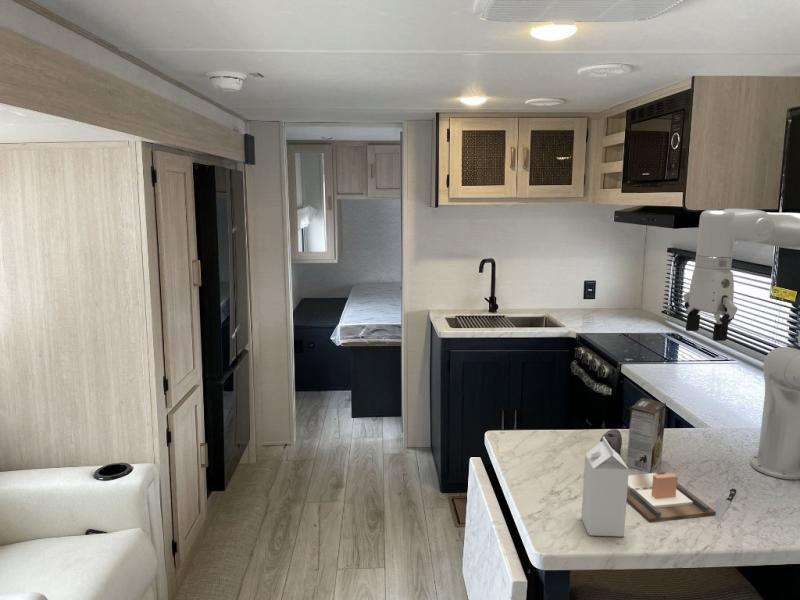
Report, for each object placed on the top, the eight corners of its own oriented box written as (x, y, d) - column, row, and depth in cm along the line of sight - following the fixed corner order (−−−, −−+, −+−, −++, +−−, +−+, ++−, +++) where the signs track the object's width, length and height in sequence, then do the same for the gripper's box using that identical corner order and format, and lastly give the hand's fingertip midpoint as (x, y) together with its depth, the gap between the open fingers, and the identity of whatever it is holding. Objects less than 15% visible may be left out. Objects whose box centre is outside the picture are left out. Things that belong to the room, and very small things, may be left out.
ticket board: (663, 475, 152) (664, 467, 152) (715, 515, 134) (716, 506, 133) (604, 480, 149) (605, 473, 149) (649, 522, 131) (649, 513, 130)
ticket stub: (673, 489, 143) (675, 467, 142) (692, 504, 136) (695, 481, 135) (634, 493, 141) (636, 470, 140) (652, 508, 135) (654, 485, 134)
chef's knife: (702, 523, 132) (717, 527, 130) (702, 518, 131) (718, 522, 130) (722, 489, 146) (736, 492, 144) (723, 484, 146) (737, 487, 144)
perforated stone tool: (606, 443, 171) (608, 420, 170) (626, 447, 168) (627, 423, 167) (594, 464, 158) (596, 439, 157) (615, 469, 156) (617, 443, 154)
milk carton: (614, 519, 132) (620, 436, 129) (624, 537, 125) (630, 451, 122) (581, 517, 133) (586, 435, 129) (588, 536, 126) (594, 450, 122)
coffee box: (637, 454, 164) (641, 397, 161) (662, 461, 160) (667, 402, 157) (625, 466, 157) (629, 406, 154) (651, 473, 153) (656, 412, 150)
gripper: (755, 268, 134) (745, 344, 137) (703, 259, 150) (695, 326, 153) (724, 268, 132) (716, 345, 135) (675, 259, 149) (668, 327, 152)
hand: (705, 335), depth 144 cm, fingers open, 9 cm apart
